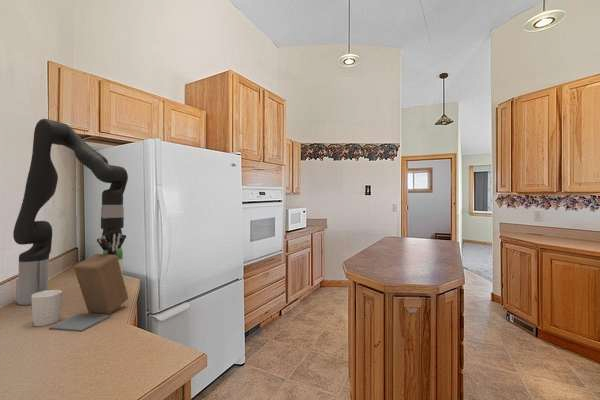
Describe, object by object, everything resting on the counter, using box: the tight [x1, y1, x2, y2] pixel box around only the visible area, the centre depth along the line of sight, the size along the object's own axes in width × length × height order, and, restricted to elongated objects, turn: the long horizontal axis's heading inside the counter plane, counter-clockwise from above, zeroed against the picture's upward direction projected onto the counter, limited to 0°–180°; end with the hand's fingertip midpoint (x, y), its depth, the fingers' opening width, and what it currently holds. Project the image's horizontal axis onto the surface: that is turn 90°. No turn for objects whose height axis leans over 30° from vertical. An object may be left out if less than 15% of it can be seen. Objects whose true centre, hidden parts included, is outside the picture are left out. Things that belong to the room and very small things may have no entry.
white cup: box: [31, 289, 63, 327], centre depth 100 cm, size 8×8×10 cm
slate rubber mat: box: [48, 313, 112, 333], centre depth 99 cm, size 12×12×1 cm
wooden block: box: [73, 253, 129, 315], centre depth 109 cm, size 10×10×20 cm
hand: (112, 260), depth 113 cm, fingers closed
